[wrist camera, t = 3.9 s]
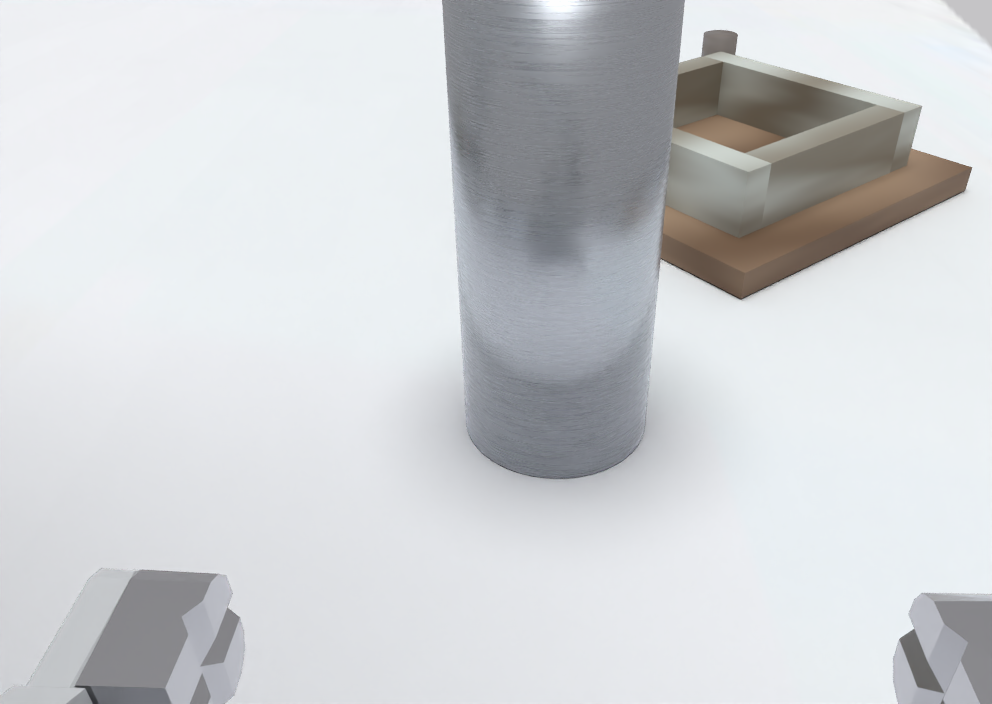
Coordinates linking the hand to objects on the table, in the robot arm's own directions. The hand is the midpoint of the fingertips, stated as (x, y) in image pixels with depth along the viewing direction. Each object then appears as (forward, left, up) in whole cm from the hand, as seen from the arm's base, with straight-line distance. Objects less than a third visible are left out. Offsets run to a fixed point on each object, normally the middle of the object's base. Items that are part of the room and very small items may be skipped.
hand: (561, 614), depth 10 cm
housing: (-17, +24, -7) cm, 30 cm away
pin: (-9, +8, -7) cm, 14 cm away
